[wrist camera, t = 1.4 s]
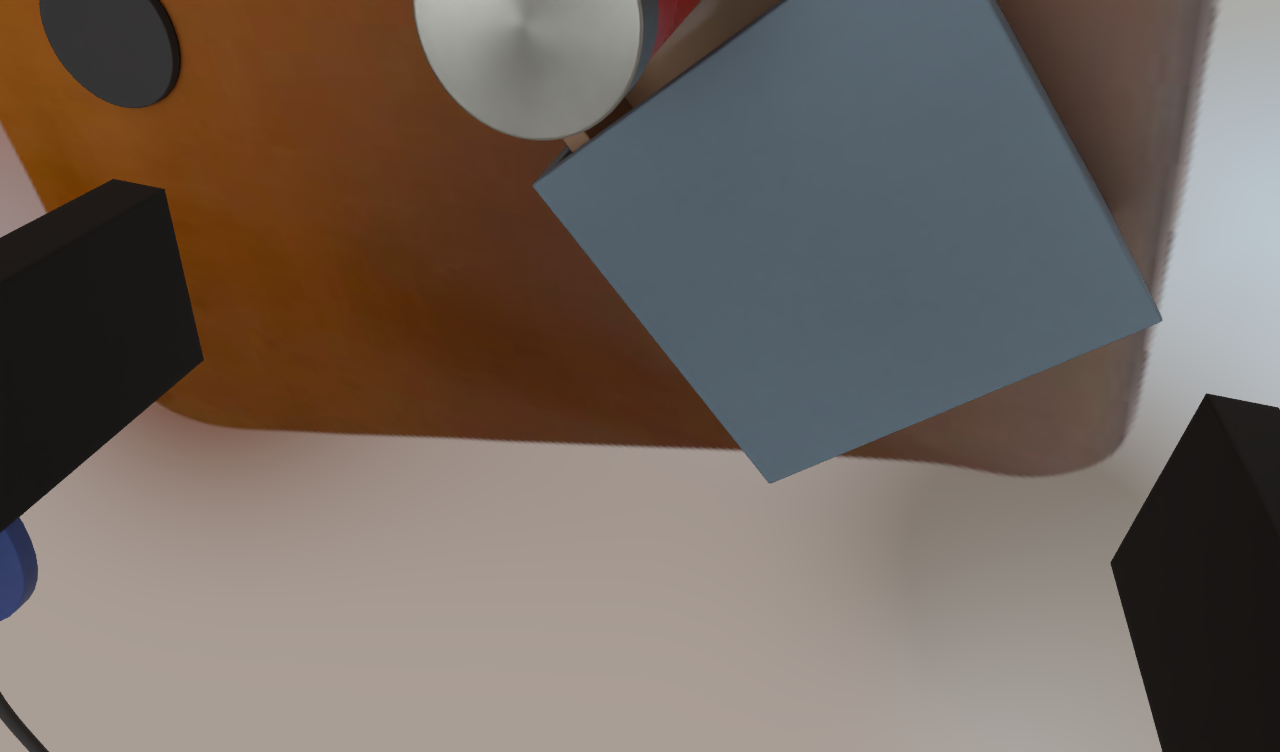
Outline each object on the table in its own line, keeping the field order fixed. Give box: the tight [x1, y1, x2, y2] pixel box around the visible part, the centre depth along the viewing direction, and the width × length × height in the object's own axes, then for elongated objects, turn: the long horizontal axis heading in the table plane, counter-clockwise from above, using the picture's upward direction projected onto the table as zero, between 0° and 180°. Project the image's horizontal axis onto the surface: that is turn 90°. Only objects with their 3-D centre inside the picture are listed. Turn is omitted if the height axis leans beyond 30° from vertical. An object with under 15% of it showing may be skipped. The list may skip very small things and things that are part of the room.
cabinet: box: [533, 0, 1162, 483], centre depth 30 cm, size 14×14×8 cm
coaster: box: [39, 0, 180, 108], centre depth 37 cm, size 6×6×1 cm
